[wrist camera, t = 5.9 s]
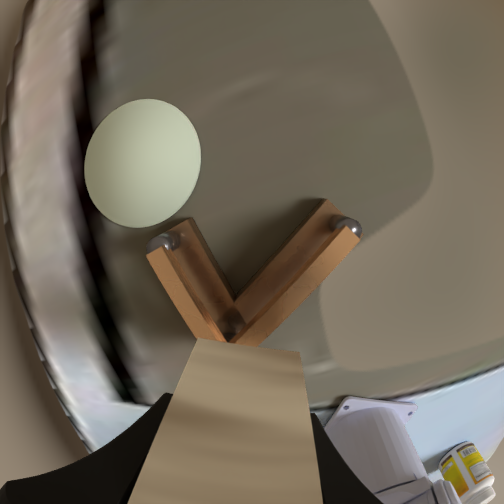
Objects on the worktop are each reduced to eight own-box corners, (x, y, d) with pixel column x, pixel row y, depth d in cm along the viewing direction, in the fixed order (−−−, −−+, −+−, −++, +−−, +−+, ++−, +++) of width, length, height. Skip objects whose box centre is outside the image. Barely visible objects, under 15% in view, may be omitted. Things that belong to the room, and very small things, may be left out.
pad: (180, 243, 18) (178, 244, 17) (76, 208, 17) (74, 209, 17) (219, 113, 16) (218, 111, 15) (106, 94, 16) (104, 93, 15)
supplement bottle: (440, 470, 23) (462, 520, 13) (434, 459, 22) (460, 515, 12) (472, 448, 22) (500, 494, 12) (470, 433, 21) (502, 485, 11)
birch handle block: (280, 420, 12) (283, 575, 4) (194, 407, 12) (148, 557, 4) (299, 352, 11) (328, 547, 3) (198, 337, 11) (120, 521, 3)
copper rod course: (299, 368, 19) (305, 407, 15) (138, 318, 19) (113, 347, 15) (363, 213, 17) (391, 222, 13) (176, 153, 16) (150, 145, 12)
